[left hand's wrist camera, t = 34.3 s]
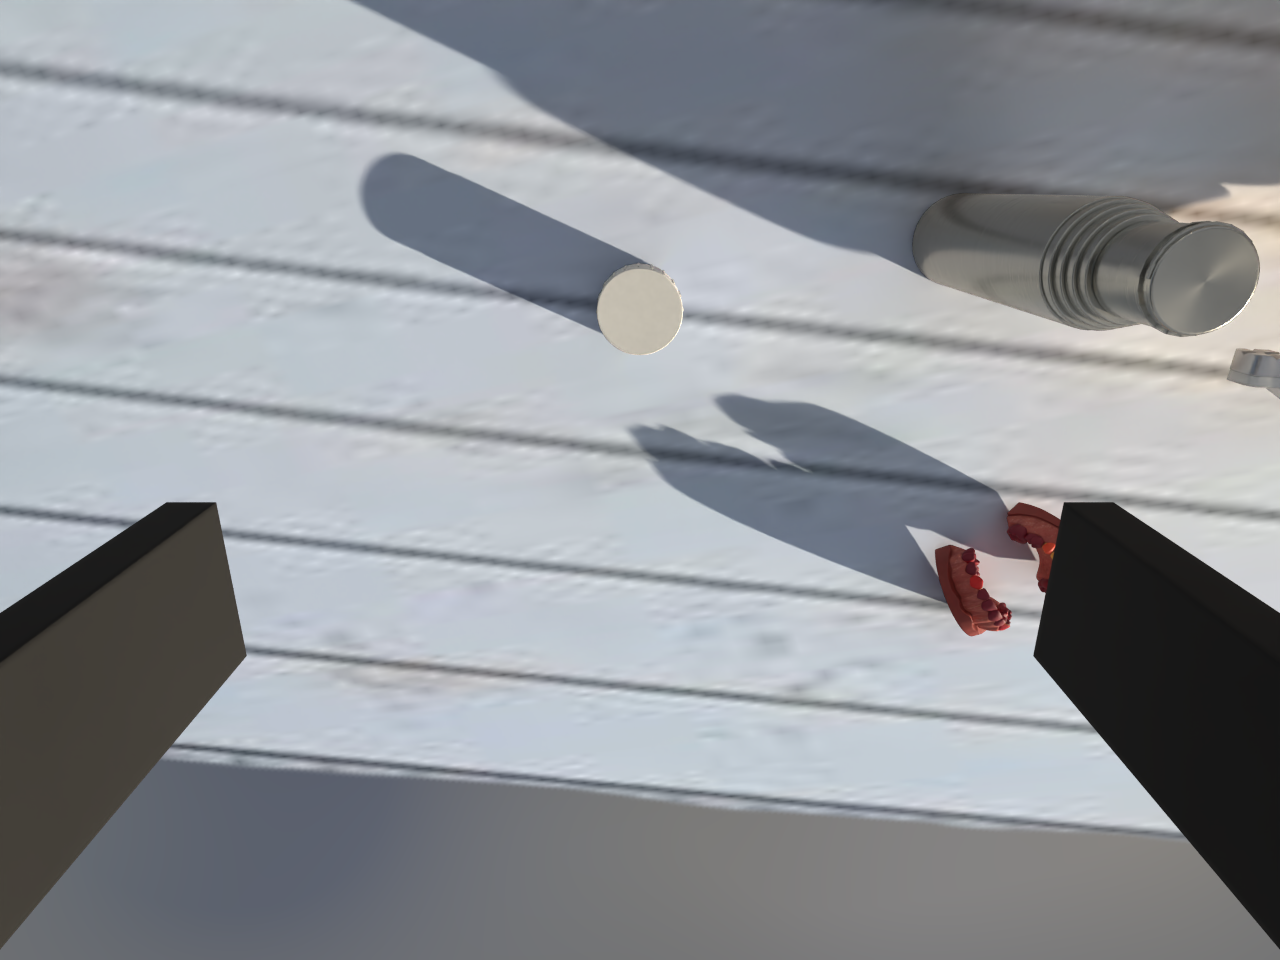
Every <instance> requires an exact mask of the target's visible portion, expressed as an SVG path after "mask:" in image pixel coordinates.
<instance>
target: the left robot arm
mask: <svg viewBox="0 0 1280 960" xmlns="http://www.w3.org/2000/svg"><path fill="white" fill-rule="evenodd" d="M246 656H247V655H246V650H245V645H244V640H243V635H242V630H241V625H240V620H239V615H238V610H237V605H236V600H235V595H234V590H233V585H232V580H231V575H230V570H229V565H228V560H227V555H226V550H225V545H224V540H223V535H222V530H221V525H220V520H219V515H218V510H217V505H216V502H167V503H165V504H163V505H162V506H160V507H159V508H157V509H156V510H154V511H153V512H151V513H150V514H148V515H147V516H145V517H144V518H142V519H141V520H139V521H138V522H136V523H135V524H133V525H132V526H130V527H129V528H127V529H126V530H124V531H123V532H121V533H120V534H118V535H117V536H115V537H114V538H112V539H111V540H109V541H108V542H106V543H105V544H103V545H102V546H100V547H99V548H97V549H96V550H94V551H93V552H91V553H90V554H88V555H87V556H85V557H84V558H82V559H81V560H79V561H78V562H76V563H75V564H73V565H72V566H70V567H69V568H67V569H66V570H64V571H63V572H61V573H60V574H58V575H57V576H55V577H54V578H52V579H51V580H49V581H48V582H46V583H45V584H43V585H42V586H40V587H39V588H37V589H36V590H34V591H33V592H31V593H30V594H28V595H27V596H25V597H24V598H22V599H21V600H19V601H18V602H16V603H15V604H13V605H12V606H10V607H9V608H7V609H6V610H4V611H3V612H1V613H0V949H1V948H2V947H3V945H4V944H5V943H6V942H7V941H8V939H9V938H10V937H11V936H12V935H13V933H14V932H15V931H16V930H17V929H18V927H19V926H20V925H21V924H22V923H23V922H24V920H25V919H26V918H27V917H28V916H29V914H30V913H31V912H32V911H33V910H34V908H35V907H36V906H37V905H38V904H39V902H40V901H41V900H42V899H43V898H44V896H45V895H46V894H47V893H48V892H49V891H50V889H51V888H52V887H53V886H54V885H55V883H56V882H57V881H58V880H59V879H60V878H61V876H62V875H63V874H64V873H65V872H66V870H67V869H68V868H69V867H70V865H71V864H72V863H73V862H74V861H75V860H76V858H77V857H78V856H79V855H80V854H81V852H82V851H83V850H84V849H85V848H86V847H87V845H88V844H89V843H90V842H91V841H92V839H93V838H94V837H95V836H96V835H97V833H98V832H99V831H100V830H101V829H102V827H103V826H104V825H105V824H106V823H107V821H108V820H109V819H110V818H111V817H112V816H113V814H114V813H115V812H116V811H117V810H118V808H119V807H120V806H121V805H122V804H123V802H124V801H125V800H126V799H127V798H128V796H129V795H130V794H131V793H132V792H133V791H134V789H135V788H136V787H137V786H138V785H139V783H140V782H141V781H142V780H143V779H144V777H145V776H146V775H147V774H148V773H149V771H150V770H151V769H152V768H153V767H154V766H155V764H156V763H157V762H158V761H159V760H160V758H161V757H162V756H163V755H164V754H165V752H166V751H167V750H168V749H169V748H170V747H171V745H172V744H173V743H174V742H175V741H176V739H177V738H178V737H179V736H180V735H181V733H182V732H183V731H184V730H185V729H186V727H187V726H188V725H189V724H190V723H191V722H192V720H193V719H194V718H195V717H196V716H197V714H198V713H199V712H200V711H201V710H202V708H203V707H204V706H205V705H206V704H207V702H208V701H209V700H210V699H211V698H212V697H213V695H214V694H215V693H216V692H217V691H218V689H219V688H220V687H221V686H222V685H223V683H224V682H225V681H226V680H227V679H228V677H229V676H230V675H231V674H232V673H233V672H234V670H235V669H236V668H237V667H238V666H239V664H240V663H241V662H242V661H243V660H244V658H245V657H246ZM1033 656H1034V657H1035V658H1036V660H1037V661H1038V662H1039V663H1040V664H1041V666H1042V667H1043V668H1044V669H1045V670H1046V672H1047V673H1048V674H1049V675H1050V676H1051V677H1052V679H1053V680H1054V681H1055V682H1056V683H1057V685H1058V686H1059V687H1060V688H1061V689H1062V691H1063V692H1064V693H1065V694H1066V695H1067V697H1068V698H1069V699H1070V700H1071V701H1072V702H1073V704H1074V705H1075V706H1076V707H1077V708H1078V710H1079V711H1080V712H1081V713H1082V714H1083V716H1084V717H1085V718H1086V719H1087V720H1088V722H1089V723H1090V724H1091V725H1092V726H1093V727H1094V729H1095V730H1096V731H1097V732H1098V733H1099V735H1100V736H1101V737H1102V738H1103V739H1104V741H1105V742H1106V743H1107V744H1108V745H1109V747H1110V748H1111V749H1112V750H1113V751H1114V752H1115V754H1116V755H1117V756H1118V757H1119V758H1120V760H1121V761H1122V762H1123V763H1124V764H1125V766H1126V767H1127V768H1128V769H1129V770H1130V772H1131V773H1132V774H1133V775H1134V776H1135V777H1136V779H1137V780H1138V781H1139V782H1140V783H1141V785H1142V786H1143V787H1144V788H1145V789H1146V791H1147V792H1148V793H1149V794H1150V795H1151V797H1152V798H1153V799H1154V800H1155V801H1156V802H1157V804H1158V805H1159V806H1160V807H1161V808H1162V810H1163V811H1164V812H1165V813H1166V814H1167V816H1168V817H1169V818H1170V819H1171V820H1172V822H1173V823H1174V824H1175V825H1176V826H1177V827H1178V829H1179V830H1180V831H1181V832H1182V833H1183V835H1184V836H1185V837H1186V838H1187V839H1188V841H1189V842H1190V843H1191V844H1192V845H1193V847H1194V848H1195V849H1196V850H1197V851H1198V852H1199V854H1200V855H1201V856H1202V857H1203V858H1204V860H1205V861H1206V862H1207V863H1208V864H1209V866H1210V867H1211V868H1212V869H1213V870H1214V871H1215V873H1216V874H1217V875H1218V876H1219V877H1220V879H1221V880H1222V881H1223V882H1224V883H1225V885H1226V886H1227V887H1228V888H1229V889H1230V891H1231V892H1232V893H1233V894H1234V895H1235V897H1236V898H1237V899H1238V900H1239V901H1240V902H1241V904H1242V905H1243V906H1244V907H1245V908H1246V910H1247V911H1248V912H1249V913H1250V914H1251V916H1252V917H1253V918H1254V919H1255V920H1256V921H1257V923H1258V924H1259V925H1260V926H1261V927H1262V929H1263V930H1264V931H1265V932H1266V933H1267V935H1268V936H1269V937H1270V938H1271V939H1272V941H1273V942H1274V943H1275V944H1276V945H1277V947H1278V948H1279V949H1280V613H1279V612H1277V611H1276V610H1274V609H1273V608H1271V607H1270V606H1268V605H1267V604H1265V603H1264V602H1262V601H1261V600H1259V599H1258V598H1256V597H1255V596H1253V595H1252V594H1250V593H1249V592H1247V591H1246V590H1244V589H1243V588H1241V587H1240V586H1238V585H1237V584H1235V583H1234V582H1232V581H1231V580H1229V579H1228V578H1226V577H1225V576H1223V575H1222V574H1220V573H1219V572H1217V571H1216V570H1214V569H1213V568H1211V567H1210V566H1208V565H1207V564H1205V563H1204V562H1202V561H1201V560H1199V559H1198V558H1196V557H1195V556H1193V555H1192V554H1190V553H1189V552H1187V551H1186V550H1184V549H1183V548H1181V547H1180V546H1178V545H1177V544H1175V543H1174V542H1172V541H1171V540H1169V539H1168V538H1166V537H1165V536H1163V535H1162V534H1160V533H1159V532H1157V531H1156V530H1154V529H1153V528H1151V527H1150V526H1148V525H1147V524H1145V523H1144V522H1142V521H1141V520H1139V519H1138V518H1136V517H1135V516H1133V515H1132V514H1130V513H1129V512H1127V511H1126V510H1124V509H1123V508H1121V507H1120V506H1118V505H1117V504H1115V503H1113V502H1064V505H1063V510H1062V515H1061V520H1060V525H1059V530H1058V535H1057V540H1056V545H1055V550H1054V555H1053V560H1052V565H1051V570H1050V575H1049V580H1048V585H1047V590H1046V595H1045V600H1044V605H1043V610H1042V615H1041V620H1040V625H1039V630H1038V635H1037V640H1036V645H1035V650H1034V655H1033Z"/></svg>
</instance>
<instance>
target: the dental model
mask: <svg viewBox="0 0 1280 960" xmlns="http://www.w3.org/2000/svg"><path fill="white" fill-rule="evenodd" d="M1007 514H1008V516H1007V521H1008V526H1009V528H1008V530H1007V533H1008V535H1009V536H1010V538H1011V540H1014V541H1016V542H1018V543H1021V544H1025V543H1027V542H1028V543H1029V544H1032V547H1033V548H1036V549H1037V552H1038V554H1039V559H1040V564H1039V569H1038V572H1037V575H1036V578H1037V580H1038V581H1039V582H1038V586H1039V588H1040V590H1041V591H1042V592H1045V593H1046V590H1047V585H1048V580H1049V575H1050V570H1051V565H1052V560H1053V555H1054V550H1055V545H1056V540H1057V535H1058V530H1059V525H1060V519H1058V518H1057V517H1055V516H1053V515H1052V514H1050V513H1048V512H1046V511H1044V510H1042V509H1040V508H1038V507H1035V506H1032V505H1029V504H1024V503H1020V502H1019V503H1018V504H1017V505H1016V506H1015V507H1014V508H1012V509H1011V510H1010V511H1009V512H1008V513H1007ZM935 559H936V566H937V572H938V576H939V581H940V584H941V587H942V590H943V593H944V596H945V599H946V601H947V603H948V606H949V608H950V610H951V612H952V614H953V616H954V618H955V620H956V621H957V623H958V624H959V626H960V627H961V629H962V630H963V631H964V632H965V633H966V634H967V635H969V636H975V635H979V634H982V633H983V632H985V631H986V630H989V631H999V630H1005V629H1007V628H1009V627H1010V622H1009V620H1010V619H1011V617H1012V616H1011V613H1012V612H1011V611H1010V610H1009V609H1008V608H1006V604H1005V603H999V602H998V601H996V600H995V599H993V598H991V597H990V596H989V594H988V592H987V591H986V590H985V589H984V588H983V589H981V588H982V587H983V580H982V579H981V578H980V577H979V576H980V574H979V572H978V571H979V568H978V567H977V565H978V564H979V563H980V561H978V560H977V559H976V554H975V550H974V549H973V548H969V549H967V550H964V549H962V548H959V547H956V546H953V545H948V546H945V547H942V548H939V549H936V550H935Z"/></svg>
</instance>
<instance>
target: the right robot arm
mask: <svg viewBox="0 0 1280 960" xmlns="http://www.w3.org/2000/svg"><path fill="white" fill-rule="evenodd" d="M1227 380H1230V381H1233V382H1236V383H1239V384H1242V385H1247V386H1252V387H1262V388H1266V389H1268V390H1269V391H1270V392H1271V393H1273V394H1274V395H1275V396H1276V397H1278V398H1279V399H1280V353H1279V352H1275V351H1271V350H1262V349H1254V350H1249V349H1241V348H1239V349H1236V351H1235V354H1234V357H1233V360H1232V363H1231V366H1230V371H1229V374H1228V377H1227Z"/></svg>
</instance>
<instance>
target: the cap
mask: <svg viewBox="0 0 1280 960" xmlns="http://www.w3.org/2000/svg"><path fill="white" fill-rule="evenodd" d="M680 297H681V294H680V292H679V291H678V289H677V287H676V285H675V283H674V280H673V279H671V278H670V277H669V276H668V275H667V274H666V273H665V272H664V270H661V269H659V268H657V267H655V266H652V264H651V265H648V264H639V263H638V264H632V265H628V266H626V265H625V266H624V267H623V268H621V269H619V270H617V271H616V272H613V274H612V275H611V276H610V278H609V279H608V280H607V281H605V282H604V285H603V289H602V291H601V294H599V296H598V299H597V300H598V305H597V311H596V313H597V319H598V323H599V327H600V329H601V331H602V333H603V335H604V336H605V338H606V339H607V340H608V341H609V342H610V343H611V344H612V345H613V346H614V347H616V348H617V349H619V350H621V351H623V352H626V353H629V354H633V355H646V354H651V353H654V352H657V351H659V350H661V349H662V348H664V347H665V346H667V345H668V344H669V343H670V342H671V341H672V340H673V339H674V337H675V336H676V334H677V332H678V330H679V328H680V325H681V324H682V316H683V306H682V301H681V298H680Z"/></svg>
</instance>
